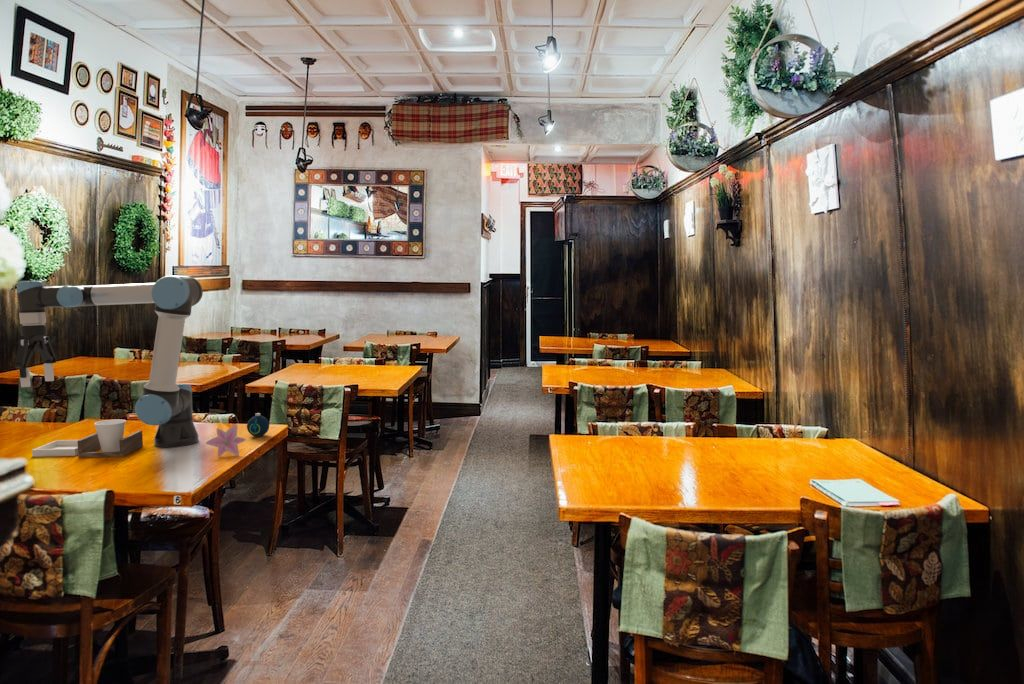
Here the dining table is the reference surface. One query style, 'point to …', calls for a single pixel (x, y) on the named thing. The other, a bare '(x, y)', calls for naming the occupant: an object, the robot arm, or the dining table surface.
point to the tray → (57, 448)
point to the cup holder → (126, 447)
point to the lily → (226, 441)
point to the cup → (110, 434)
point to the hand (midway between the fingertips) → (38, 384)
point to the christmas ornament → (258, 425)
